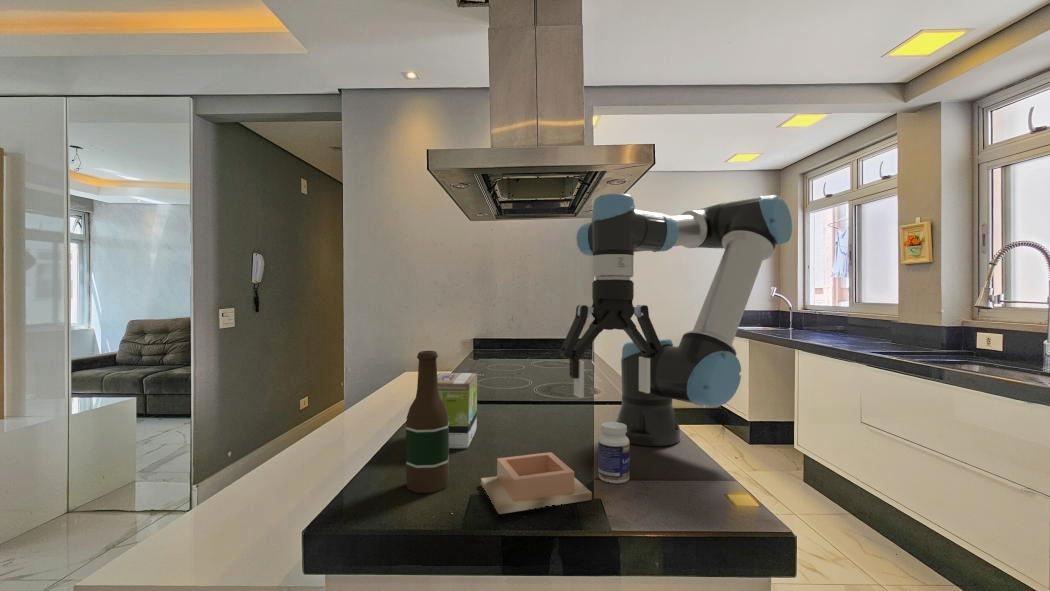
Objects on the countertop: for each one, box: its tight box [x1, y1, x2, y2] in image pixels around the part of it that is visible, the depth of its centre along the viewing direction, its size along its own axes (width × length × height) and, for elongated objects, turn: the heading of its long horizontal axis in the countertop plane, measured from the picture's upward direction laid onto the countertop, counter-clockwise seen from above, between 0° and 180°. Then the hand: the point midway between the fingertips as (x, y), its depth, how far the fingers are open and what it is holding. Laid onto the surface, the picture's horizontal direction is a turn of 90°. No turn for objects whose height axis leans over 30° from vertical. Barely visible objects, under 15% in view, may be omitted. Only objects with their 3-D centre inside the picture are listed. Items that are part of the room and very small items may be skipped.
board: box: [480, 475, 593, 515], centre depth 82 cm, size 16×12×1 cm
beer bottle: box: [405, 350, 450, 494], centre depth 85 cm, size 8×8×24 cm
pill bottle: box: [597, 421, 631, 484], centre depth 88 cm, size 6×6×10 cm
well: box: [496, 452, 575, 502], centre depth 82 cm, size 10×10×4 cm
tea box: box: [437, 372, 478, 449], centre depth 113 cm, size 15×10×15 cm
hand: (612, 394), depth 88 cm, fingers open, 13 cm apart
